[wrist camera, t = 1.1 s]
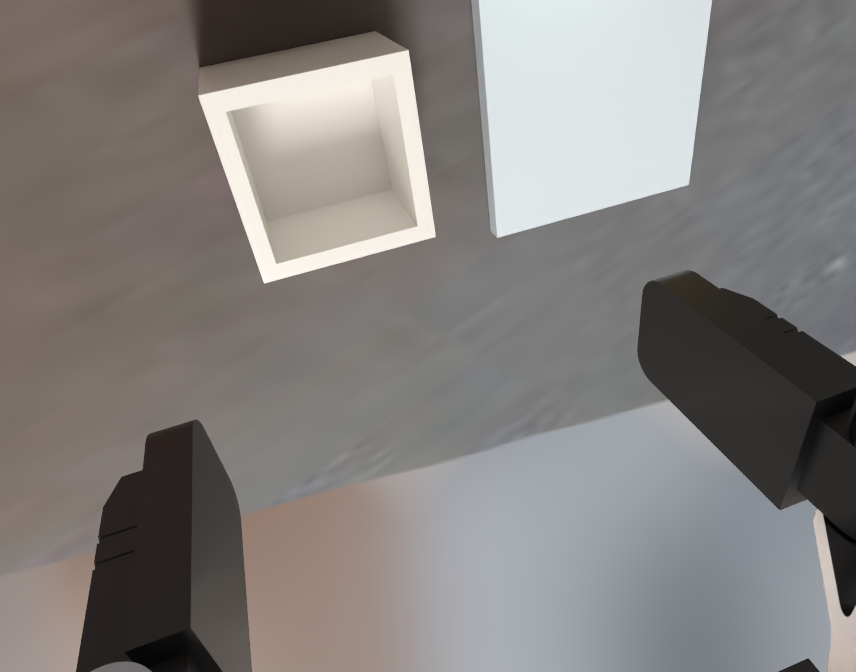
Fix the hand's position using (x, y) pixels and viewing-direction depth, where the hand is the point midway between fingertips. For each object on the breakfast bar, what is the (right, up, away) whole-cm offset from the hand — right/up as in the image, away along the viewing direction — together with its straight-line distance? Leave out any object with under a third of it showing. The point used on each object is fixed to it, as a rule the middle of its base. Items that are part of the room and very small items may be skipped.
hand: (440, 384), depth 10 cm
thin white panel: (+7, +11, +15) cm, 20 cm away
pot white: (-5, +9, +13) cm, 16 cm away
